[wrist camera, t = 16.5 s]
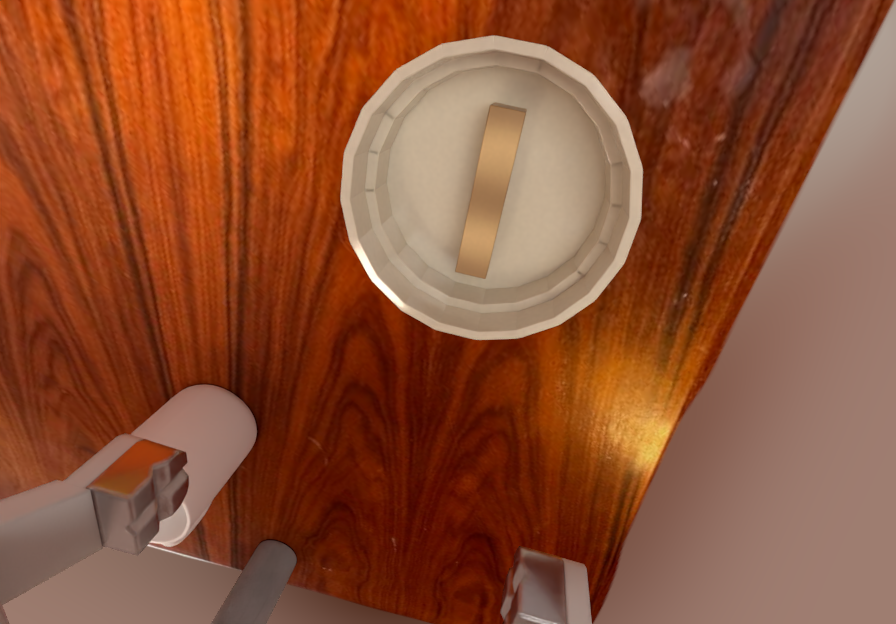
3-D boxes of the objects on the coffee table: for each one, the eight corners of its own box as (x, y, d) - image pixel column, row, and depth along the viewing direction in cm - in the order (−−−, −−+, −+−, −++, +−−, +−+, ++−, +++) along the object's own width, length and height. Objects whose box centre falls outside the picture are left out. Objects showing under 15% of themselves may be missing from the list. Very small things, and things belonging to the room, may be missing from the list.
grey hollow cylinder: (296, 573, 53) (246, 676, 44) (257, 561, 53) (199, 662, 44) (298, 546, 51) (245, 648, 42) (257, 534, 51) (196, 633, 42)
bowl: (665, 75, 27) (695, 75, 22) (578, 322, 35) (585, 367, 29) (389, 20, 29) (354, 7, 23) (362, 271, 36) (331, 305, 31)
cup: (256, 390, 43) (180, 474, 34) (266, 489, 48) (203, 584, 39) (169, 374, 44) (72, 451, 35) (189, 473, 49) (110, 562, 40)
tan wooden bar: (494, 101, 29) (489, 104, 26) (527, 109, 29) (526, 112, 26) (461, 256, 33) (454, 272, 31) (489, 263, 33) (485, 279, 31)
